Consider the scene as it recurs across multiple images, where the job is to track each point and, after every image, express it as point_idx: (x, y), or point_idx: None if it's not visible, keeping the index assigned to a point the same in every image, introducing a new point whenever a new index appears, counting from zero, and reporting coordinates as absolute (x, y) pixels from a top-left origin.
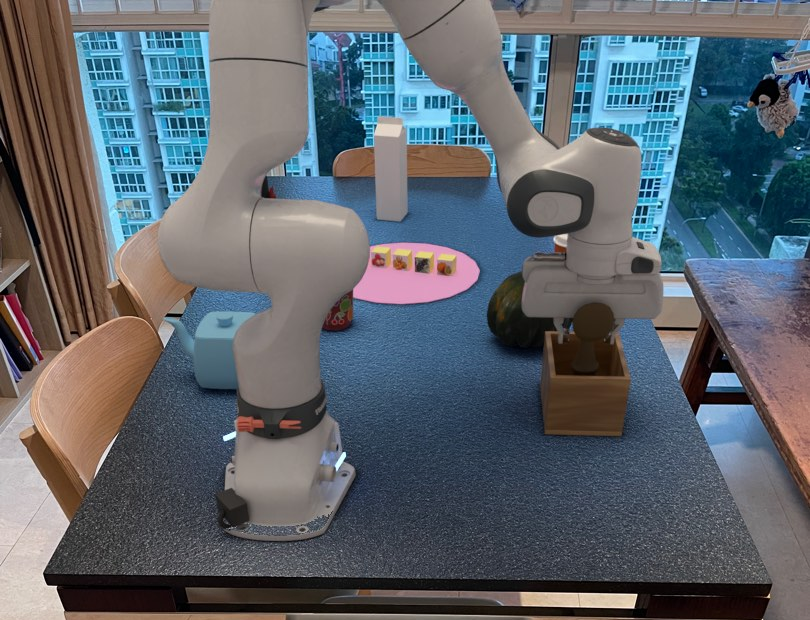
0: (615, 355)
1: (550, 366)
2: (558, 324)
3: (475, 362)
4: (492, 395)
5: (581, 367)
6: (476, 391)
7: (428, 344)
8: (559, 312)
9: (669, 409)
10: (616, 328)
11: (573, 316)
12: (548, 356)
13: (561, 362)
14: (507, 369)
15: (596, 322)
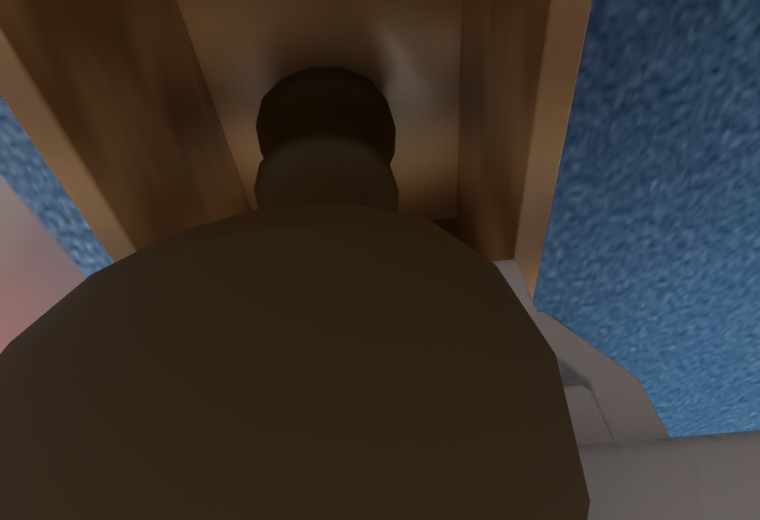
0: None
1: (577, 44)
2: (591, 375)
3: (633, 296)
4: (638, 141)
5: (344, 160)
6: (686, 157)
7: (726, 345)
8: (692, 506)
9: (22, 144)
10: None
11: None
12: (555, 183)
13: None
14: (552, 279)
15: (164, 411)
